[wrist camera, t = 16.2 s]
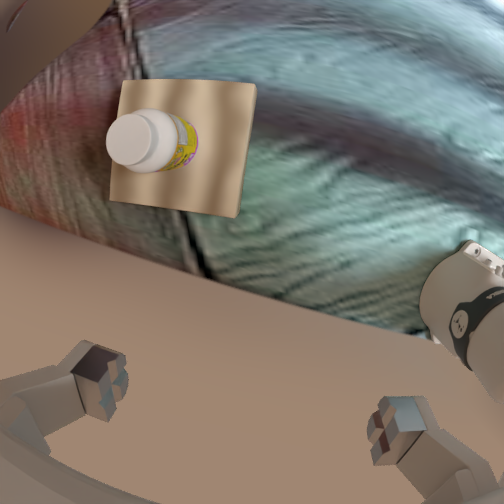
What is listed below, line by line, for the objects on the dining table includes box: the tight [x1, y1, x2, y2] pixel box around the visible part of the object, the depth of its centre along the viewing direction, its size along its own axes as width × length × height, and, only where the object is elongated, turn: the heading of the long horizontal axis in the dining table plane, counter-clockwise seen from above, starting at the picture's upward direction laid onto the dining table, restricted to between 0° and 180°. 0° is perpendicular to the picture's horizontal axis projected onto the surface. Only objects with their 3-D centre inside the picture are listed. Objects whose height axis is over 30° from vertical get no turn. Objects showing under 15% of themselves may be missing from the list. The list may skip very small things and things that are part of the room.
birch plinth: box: [110, 79, 257, 218], centre depth 37 cm, size 18×17×4 cm
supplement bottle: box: [106, 108, 199, 173], centre depth 29 cm, size 7×7×13 cm
